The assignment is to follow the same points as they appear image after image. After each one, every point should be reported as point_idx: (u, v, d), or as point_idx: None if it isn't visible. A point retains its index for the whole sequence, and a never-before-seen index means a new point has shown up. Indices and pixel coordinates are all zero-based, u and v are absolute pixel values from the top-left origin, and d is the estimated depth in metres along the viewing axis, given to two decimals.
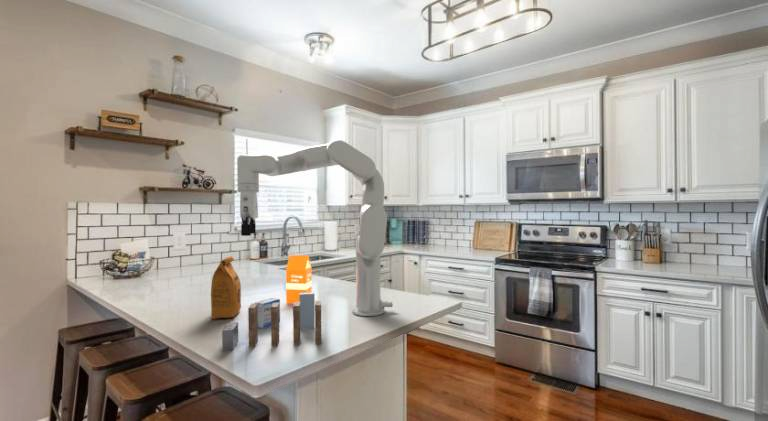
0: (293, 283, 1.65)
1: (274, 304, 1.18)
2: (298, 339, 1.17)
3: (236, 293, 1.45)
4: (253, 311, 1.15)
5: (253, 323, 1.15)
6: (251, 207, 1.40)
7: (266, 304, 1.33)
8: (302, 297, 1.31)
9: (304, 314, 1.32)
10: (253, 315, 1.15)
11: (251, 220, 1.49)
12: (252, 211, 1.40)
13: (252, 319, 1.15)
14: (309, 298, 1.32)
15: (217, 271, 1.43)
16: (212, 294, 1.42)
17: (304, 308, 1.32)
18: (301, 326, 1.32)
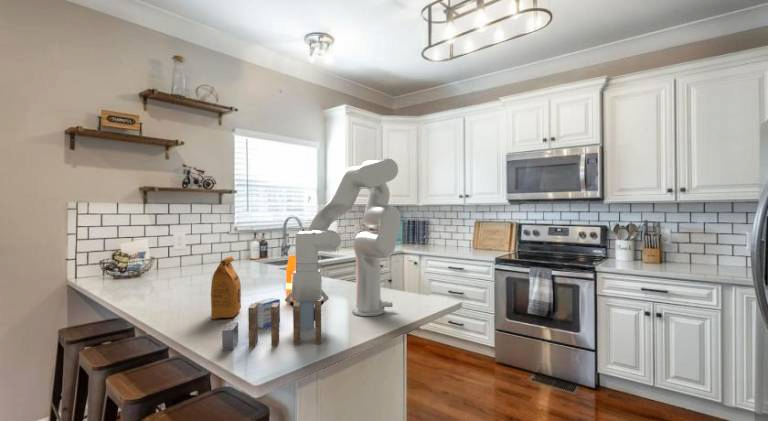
0: None
1: (274, 304, 1.19)
2: (298, 339, 1.17)
3: (236, 292, 1.45)
4: (253, 311, 1.15)
5: (253, 323, 1.15)
6: None
7: (265, 304, 1.33)
8: None
9: (304, 314, 1.32)
10: (253, 315, 1.15)
11: None
12: None
13: (252, 319, 1.15)
14: None
15: (217, 271, 1.43)
16: (212, 294, 1.42)
17: (304, 308, 1.32)
18: (301, 326, 1.32)
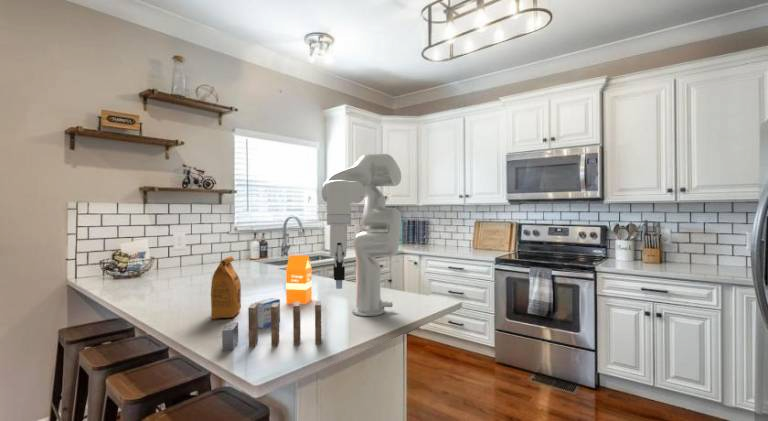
0: (293, 283, 1.65)
1: (274, 304, 1.19)
2: (298, 339, 1.17)
3: (236, 293, 1.45)
4: (253, 311, 1.15)
5: (253, 323, 1.15)
6: None
7: (265, 304, 1.33)
8: None
9: None
10: (253, 315, 1.15)
11: None
12: None
13: (252, 319, 1.15)
14: None
15: (217, 271, 1.43)
16: (212, 294, 1.42)
17: None
18: None
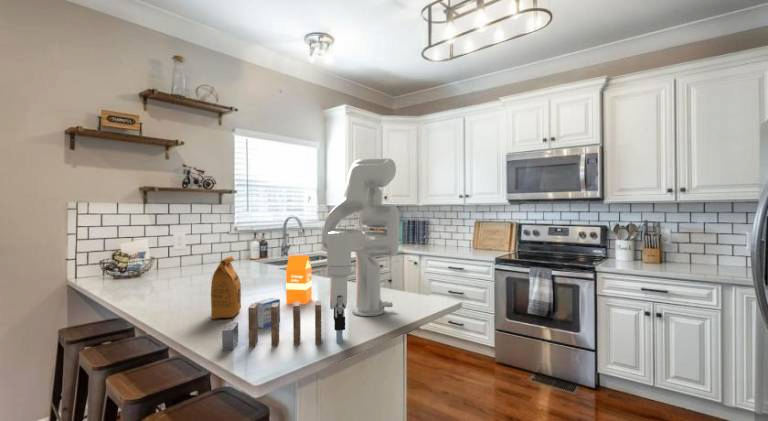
0: (293, 283, 1.65)
1: (274, 304, 1.19)
2: (298, 339, 1.17)
3: (236, 293, 1.45)
4: (253, 311, 1.15)
5: (253, 323, 1.15)
6: None
7: (265, 304, 1.33)
8: None
9: None
10: (253, 315, 1.15)
11: None
12: None
13: (252, 319, 1.15)
14: None
15: (217, 271, 1.43)
16: (212, 294, 1.42)
17: None
18: (342, 338, 1.20)
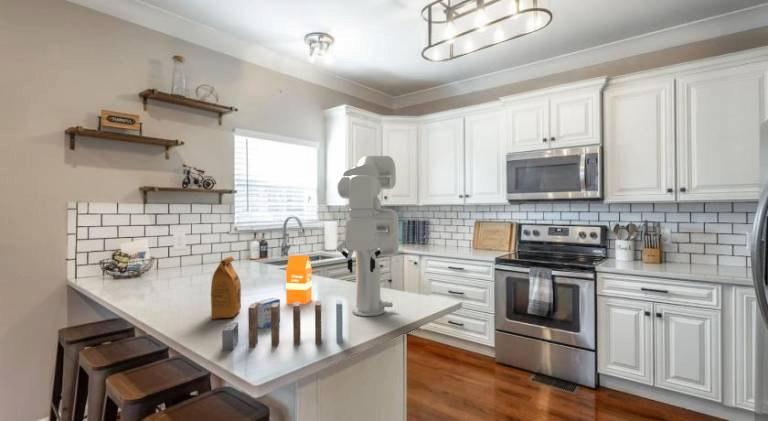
0: (293, 283, 1.65)
1: (274, 304, 1.19)
2: (298, 339, 1.17)
3: (236, 293, 1.45)
4: (253, 311, 1.15)
5: (253, 323, 1.15)
6: None
7: (265, 304, 1.33)
8: None
9: None
10: (253, 315, 1.15)
11: None
12: None
13: (252, 319, 1.15)
14: None
15: (217, 271, 1.43)
16: (212, 294, 1.42)
17: None
18: (342, 338, 1.20)
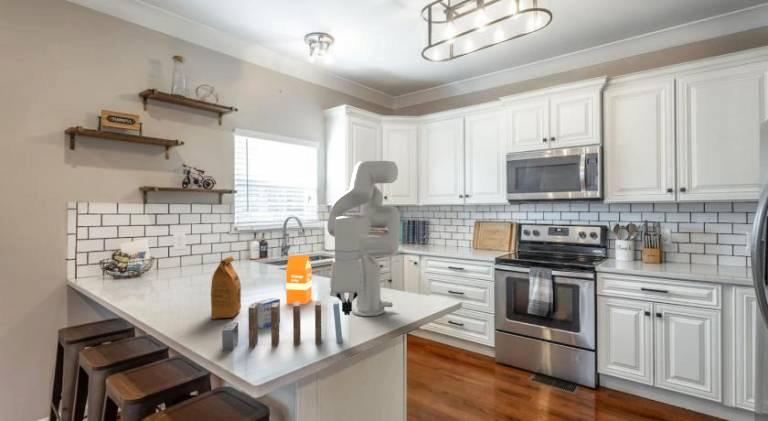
0: (293, 283, 1.65)
1: (274, 304, 1.19)
2: (298, 339, 1.17)
3: (236, 293, 1.45)
4: (253, 311, 1.15)
5: (253, 323, 1.15)
6: None
7: (265, 304, 1.33)
8: None
9: None
10: (253, 315, 1.15)
11: (344, 298, 1.21)
12: None
13: (252, 319, 1.15)
14: None
15: (217, 271, 1.43)
16: (212, 294, 1.42)
17: None
18: None
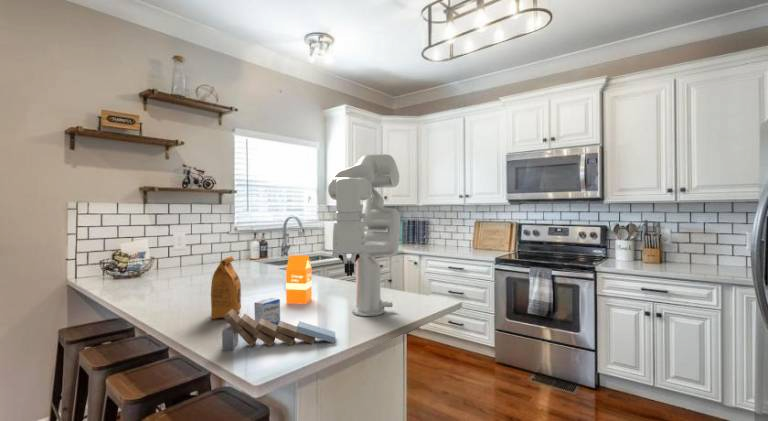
0: (293, 283, 1.65)
1: None
2: (288, 338, 1.17)
3: (236, 292, 1.45)
4: (229, 316, 1.14)
5: (237, 325, 1.14)
6: None
7: (265, 304, 1.33)
8: (301, 326, 1.18)
9: (319, 330, 1.20)
10: (232, 319, 1.14)
11: (346, 259, 1.22)
12: None
13: (234, 323, 1.14)
14: (303, 324, 1.21)
15: (217, 271, 1.43)
16: (212, 294, 1.42)
17: (313, 329, 1.20)
18: (332, 335, 1.19)
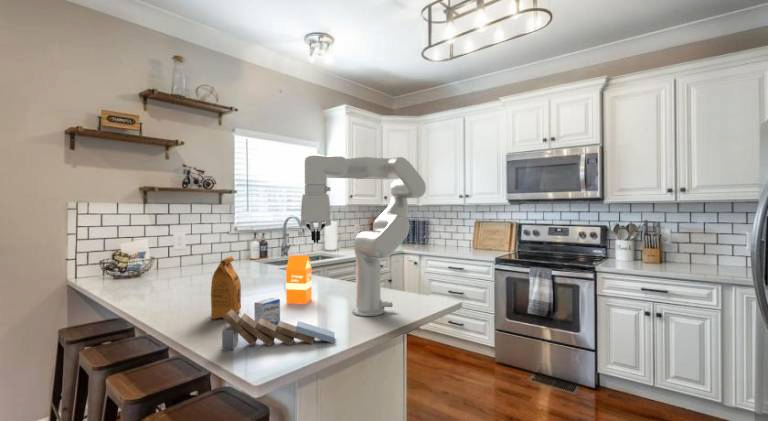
0: (293, 283, 1.65)
1: (240, 318, 1.17)
2: (288, 338, 1.17)
3: (236, 293, 1.45)
4: (229, 316, 1.14)
5: (237, 325, 1.14)
6: None
7: (265, 304, 1.33)
8: (300, 326, 1.18)
9: (319, 331, 1.20)
10: (232, 319, 1.14)
11: (313, 228, 1.36)
12: None
13: (234, 323, 1.14)
14: (302, 324, 1.21)
15: (217, 271, 1.43)
16: (212, 294, 1.42)
17: (312, 329, 1.20)
18: (331, 335, 1.19)
